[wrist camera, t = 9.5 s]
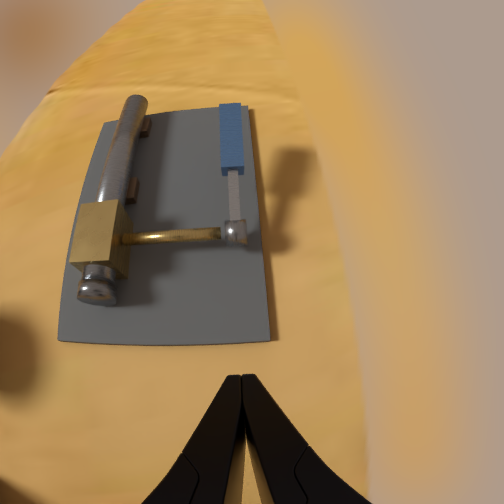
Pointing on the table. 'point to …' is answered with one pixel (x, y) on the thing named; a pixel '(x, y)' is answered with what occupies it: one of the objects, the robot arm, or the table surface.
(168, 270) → the gray mounting plate
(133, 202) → the valve pipe
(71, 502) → the table surface
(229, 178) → the valve lever
